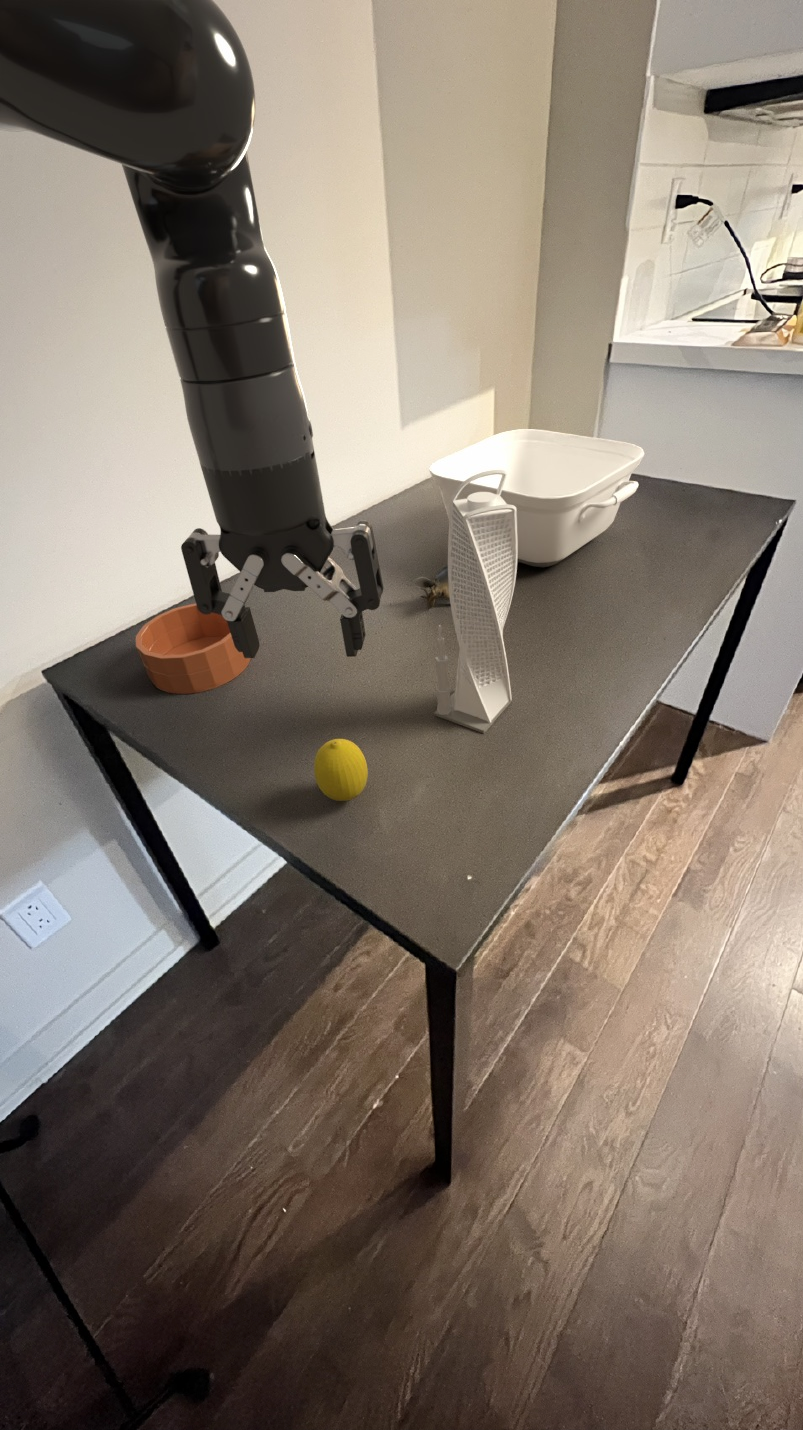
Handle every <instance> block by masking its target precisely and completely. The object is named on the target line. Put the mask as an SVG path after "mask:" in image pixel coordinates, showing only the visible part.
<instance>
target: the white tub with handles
mask: <svg viewBox="0 0 803 1430" xmlns="http://www.w3.org/2000/svg"><path fill="white" fill-rule="evenodd" d="M644 456H645V452H644V448H643V447H640V446H638V445H637V444H634V443H629V442H625V441H619V440H613V439H606V438H599V437H593V436H585V435H578V434H571V433H564V432H558V431H551V430H545V429H534V428H533V429H532V428H524V429H523V428H521V429H513V430H507V431H503V432H500V433H496V434H493V436H489V437H488V438H484V439H482V440H481V441H479V442H476V443H474V444H472V445H469V446H467V447H465V448H463V449H461V450H459V451H456V452H453V453H452V454H449V455H447V456H445V457H442V458H441V459H440V458H439V459H438V460H436V461H435V462H433V463H431V465H430V466H429V469H428V472H429V473H430V475H431V477H432V480H433V482H434V483H435V484H436V485H437V486H438V488H439V491H440V494H441V497H442V501H443V504H444V508H445V511H446V516H447V518H448V519H447V520H449V514H450V500H451V498H452V496H453V494H454V493H455V491H456V489H457V488H458V487H459V486H460V484H462V483H463V482H464V481H465V480H466V479H468V478H470V477H471V476H474V475H476V474H479V473H481V472H485V471H489V470H504V471H506V472H507V473H508V474H507V477H506V480H505V483H504V486H503V489H502V492H501V495H500V496H501V497H502V498H503V500H504V501H505V502H506V503H507V504H509V505H514V506H515V507H516V515H517V539H518V556H517V563H519V564H520V563H521V564H524V565H526V566H527V565H528V566H530V567H536V568H546V567H547V568H548V567H551V566H554V565H557V564H558V563H560V562H561V561H563V560H565V559H566V558H567V557H569V556H570V555H573V554H574V553H575V552H576V551H578V550H579V549H580V548H583V546H585V545H587V544H588V543H590V542H591V541H593V540H594V539H595V538H597V537H598V536H599V535H601V534H602V533H604V532H605V531H607V529H608V528H610V526H611V525H612V524H613V522H614V521H615V519H616V517H617V513H618V511H619V508H620V506H621V503H622V502H623V501H626V500H627V499H628V498H630V497H631V496H632V495H634V494H635V493H636V492H637V490H638V488H639V482H638V481H637V480H631V479H630V478H631V477H632V473H633V472H634V471H635V470H636V469H637V468H638V467H639V465H640V464H641V462H642V459H643V458H644ZM501 477H502V475H499V474H496V475H489V476H484V477H481V478H478V479H476V480H473V481H472V482H470V483H468V484H467V485H466V486H465V487H464V488H463V489H462V490H461V491H460V493H459V494H458V496H457V498H456V500H460V499H467V497H468V496H469V495H470V494H473V493H476V492H490V493H493V494H496V492H497V489H498V486H499V483H500V480H501Z"/></svg>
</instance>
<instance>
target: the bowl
mask: <svg viewBox="0 0 803 1430" xmlns="http://www.w3.org/2000/svg"><path fill="white" fill-rule="evenodd" d="M135 648H136V651H137V653H138V655H139V657H140V660H141V662H142V664H143V667H144V669H145V671H146V674H147V676H148V678H149V680H150V681H151V683H152V684H153V685H154V686H155V687H156V688H157V689H158V690H160V691H163V692H166V693H169V694H176V695H190V694H197V693H202V692H203V693H204V692H207V691H211V690H213V689H216V688H218V687H221V686H223V685H226V684H228V683H229V682H231V681H232V680H234V679H236V678H237V677H239V675H241V674H242V673H243V672H244V671H245V670H246V669H247V667H248V666H249V664H250V662H251V659H252V658H244V656H243V652H238V650H237V649H236V648H235V646H234V643H233V639H232V636H231V633H230V630H229V626H228V623H227V621H226V619H224V618H223V616H221V615H219V614H216V613H212V612H211V613H210V614H208V615H206V614H202V613H201V612H200V611H199V610H198V608H197V605H196V602H194V603H191V604H186V605H182V606H178V607H174V608H172V609H170V610H167V611H164V612H163V613H160V614H158V615H156V616H155V617H153V618H152V619H151V620H149V621H148V622H146V623H144V625H142V627H141V628H140V630H139V631H138V633H137V634H136V635H135Z"/></svg>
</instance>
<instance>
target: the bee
mask: <svg viewBox="0 0 803 1430" xmlns="http://www.w3.org/2000/svg"><path fill="white" fill-rule="evenodd" d="M414 584H415V585H416V586H417V587H418V588H420V590H421V591H424V592H425V594H426V596H425V595H420V598H421V599H424V600H426V602H427V606H426V607H427V608H426V609H427V610H428V611H429V610H430V609H432V608H433V607H434V606H435V604H436V603H435V602H436V600H437V599H438V598H440V597H441V598H443V599H445V600H447V601H449V602H450V595H449V583H448V565H446V566H442V567H441V568H440V569H439V570H438V572H437V574H436V575H435V578H434V580H433V579H429V578H428V577H426V576H420V577H416V578H415V579H414ZM428 588H429V589H430V590H429V589H428Z"/></svg>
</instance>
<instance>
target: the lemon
mask: <svg viewBox="0 0 803 1430" xmlns="http://www.w3.org/2000/svg"><path fill="white" fill-rule="evenodd" d="M365 757H366V756H365V755H364V753H363V751H362V750H361V749H360V747H359V746H358V745H357V744H355V743H354V742H353V741H351V740H348V739H345V738H335V739H331V740H329V741H327V742H325V743H324V744H323V745H322V746H320V748H319V749H318V751H317V753H316V755H315V758H314V765H313V773H314V778H315V781H316V784H317V786H318V788H319V789H320V791H321V792H322V793H323V794H324V795H325V796H326V797H327V798H329V799H331V800H334V801H337V802H345V801H350V800H353V799H355V798H356V797H358V796H359V795H360V794H361V793H362V792H363V790H364V789H365V787H366V785H367V782H368V777H369V770H368V763H367V760H366V758H365Z"/></svg>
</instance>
